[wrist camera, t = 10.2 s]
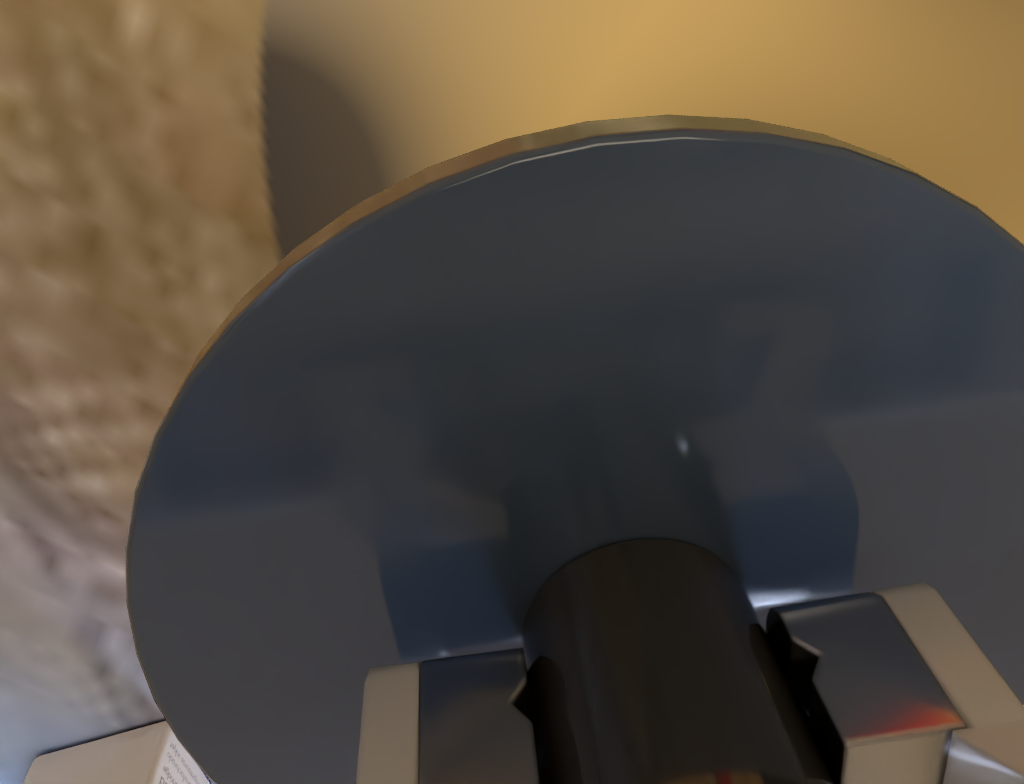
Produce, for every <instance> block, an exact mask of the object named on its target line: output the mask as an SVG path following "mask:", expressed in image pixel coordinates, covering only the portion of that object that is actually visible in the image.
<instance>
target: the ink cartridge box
mask: <svg viewBox="0 0 1024 784" xmlns="http://www.w3.org/2000/svg"><path fill="white" fill-rule="evenodd" d="M23 784H210V782H209V781H208V780H207V778H206V777H205V775H204V774H203V772H202V771H201V769H200V767H199V766H198V764H197V763H196V762H195V761H194V760H193V758H192V757H191V756H190V755H189V753H188V752H187V751H186V750H185V749H184V747H183V746H182V745H181V744H180V742H179V741H178V740H177V738H176V736H175V734H174V733H173V731H172V729H171V728H170V726H169V724H168V723H167V721H164V722H160V723H156V724H152V725H149V726H145V727H142V728H138V729H135V730H131V731H127V732H124V733H120V734H117V735H113V736H110V737H106V738H103V739H99V740H96V741H92V742H89V743H85V744H81V745H77V746H74V747H70V748H67V749H63V750H59V751H56V752H52V753H48V754H44V755H41V756H39V757H37V758H35V760H34V761H33V763H32V765H31V767H30V768H29V770H28V773H27V775H26V777H25V779H24V782H23Z"/></svg>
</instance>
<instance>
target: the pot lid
mask: <svg viewBox="0 0 1024 784" xmlns="http://www.w3.org/2000/svg"><path fill="white" fill-rule="evenodd" d="M125 551H126V602H127V608H128V613H129V618H130V623H131V628H132V633H133V638H134V644H135V649H136V654H137V657H138V659H139V662H140V664H141V667H142V670H143V672H144V675H145V677H146V680H147V683H148V685H149V688H150V690H151V693H152V696H153V698H154V701H155V702H156V704H157V706H158V707H159V709H160V711H161V712H162V714H163V716H164V718H165V719H166V721H167V723H168V724H169V726H170V728H171V729H172V731H173V733H174V734H175V736H176V738H177V740H178V741H179V742H180V744H181V745H182V746H183V747H184V749H185V750H186V751H187V752H188V753H189V755H190V756H191V757H192V758H193V760H194V761H195V762H196V763H197V764H198V766H199V767H200V768H201V769H202V770H203V772H204V773H205V774H206V775H207V777H208V778H209V779H210V780H211V781H213V782H214V783H215V784H356V778H357V766H358V754H359V743H360V731H361V719H362V707H363V696H364V684H365V681H366V678H367V675H368V673H369V670H370V668H376V667H384V666H392V665H400V664H407V663H415V662H422V661H423V660H430V659H438V658H446V657H454V656H461V655H469V654H477V653H484V652H492V651H500V650H507V649H515V648H523V649H524V655H525V660H526V665H527V670H528V677H529V685H530V692H531V699H532V707H533V714H534V721H535V733H534V735H535V741H536V746H537V752H538V757H539V763H540V768H541V776H542V784H835V782H834V780H833V778H832V775H831V773H830V771H829V769H828V767H827V765H826V762H825V760H824V758H823V756H822V754H821V752H820V749H819V747H818V745H817V743H816V741H815V738H814V736H813V734H812V732H811V730H810V728H809V725H808V723H807V721H806V719H805V717H804V715H803V712H802V710H801V708H800V706H799V704H798V702H797V699H796V697H795V695H794V693H793V691H792V689H791V686H790V684H789V682H788V680H787V678H786V676H785V673H784V671H783V669H782V667H781V665H780V663H779V660H778V658H777V656H776V654H775V652H774V650H773V647H772V645H771V643H770V641H769V639H768V637H767V634H766V617H767V615H768V612H769V609H770V608H773V607H779V606H785V605H791V604H797V603H803V602H809V601H815V600H821V599H827V598H833V597H839V596H845V595H851V594H857V593H863V592H869V593H871V592H873V591H876V590H882V589H888V588H894V587H901V586H907V585H913V584H919V583H926V584H928V585H929V586H931V587H933V588H934V589H936V591H937V592H938V593H939V595H940V596H941V597H942V598H943V600H944V601H945V602H946V604H947V605H948V606H949V608H950V609H951V610H952V612H953V613H954V614H955V616H956V617H957V618H958V620H959V621H960V622H961V624H962V625H963V626H964V628H965V629H966V630H967V632H968V633H969V634H970V636H971V637H972V638H973V640H974V641H975V642H976V644H977V645H978V646H979V648H980V649H981V650H982V652H983V653H984V654H985V656H986V657H987V658H988V660H989V661H990V662H991V664H992V665H993V666H994V668H995V669H996V670H997V672H998V673H999V674H1000V676H1001V677H1002V678H1003V679H1004V681H1005V682H1006V683H1007V685H1008V686H1009V687H1010V689H1011V690H1012V691H1013V693H1014V694H1015V695H1016V697H1017V698H1018V699H1019V701H1020V702H1021V703H1022V705H1023V706H1024V244H1023V243H1021V242H1020V241H1019V240H1017V239H1016V238H1015V237H1014V236H1013V235H1011V234H1010V233H1009V232H1008V231H1006V230H1005V229H1004V228H1003V227H1002V226H1000V225H999V224H998V223H997V222H995V221H994V220H993V219H991V218H990V217H989V216H988V215H987V214H986V213H984V212H983V211H982V210H981V209H979V208H978V207H977V206H975V205H973V204H971V203H969V202H968V201H966V200H964V199H962V198H960V197H958V196H957V195H955V194H953V193H951V192H950V191H948V190H946V189H944V188H942V187H941V186H939V185H937V184H935V183H933V182H931V181H930V180H928V179H926V178H924V177H923V176H921V175H919V174H917V173H915V172H914V171H912V170H910V169H908V168H906V167H905V166H903V165H901V164H899V163H897V162H896V161H894V160H892V159H890V158H887V157H885V156H882V155H879V154H876V153H874V152H871V151H868V150H865V149H863V148H860V147H857V146H854V145H851V144H849V143H846V142H843V141H840V140H837V139H835V138H832V137H829V136H827V135H824V134H820V133H815V132H810V131H805V130H800V129H795V128H790V127H785V126H780V125H775V124H770V123H764V122H760V121H755V120H750V119H737V118H718V117H700V116H682V115H660V116H647V117H635V118H623V119H612V120H599V121H587V122H582V123H578V124H573V125H568V126H564V127H559V128H555V129H550V130H546V131H541V132H537V133H532V134H527V135H523V136H518V137H514V138H509V139H505V140H502V141H500V142H497V143H494V144H491V145H488V146H486V147H483V148H480V149H477V150H474V151H472V152H469V153H466V154H463V155H461V156H458V157H455V158H452V159H450V160H447V161H444V162H441V163H439V164H436V165H433V166H430V167H428V168H426V169H424V170H422V171H420V172H418V173H416V174H414V175H412V176H410V177H409V178H407V179H405V180H403V181H401V182H399V183H397V184H395V185H393V186H391V187H389V188H387V189H385V190H384V191H382V192H380V193H378V194H376V195H374V196H372V197H370V198H368V199H366V200H364V201H363V202H361V203H359V204H357V205H355V206H354V207H353V208H351V209H350V210H348V211H347V212H346V213H344V214H343V215H341V216H340V217H338V218H337V219H336V220H334V221H333V222H331V223H330V224H329V225H327V226H326V227H324V228H323V229H321V230H320V231H319V232H317V233H316V234H314V235H313V236H312V237H310V238H309V239H307V240H306V241H305V242H303V243H302V244H300V245H299V246H298V247H296V248H295V249H294V250H292V251H291V252H290V253H289V254H288V255H287V256H286V257H285V258H284V259H283V260H282V261H281V262H280V263H279V264H278V265H277V266H276V267H274V268H273V269H272V270H271V271H270V272H269V273H268V274H267V275H266V276H265V277H264V278H263V279H262V280H261V281H260V282H259V283H258V284H257V285H255V286H254V287H253V288H252V289H251V290H250V291H249V292H248V293H247V294H246V295H245V296H244V297H243V298H242V299H241V300H240V301H239V303H238V304H237V305H236V306H235V308H234V309H233V310H232V311H231V313H230V314H229V315H228V317H227V318H226V319H225V320H224V322H223V323H222V324H221V326H220V327H219V328H218V329H217V331H216V332H215V333H214V334H213V336H212V337H211V338H210V340H209V341H208V342H207V343H206V345H205V346H204V347H203V349H202V350H201V351H200V352H199V354H198V356H197V358H196V360H195V361H194V363H193V365H192V367H191V369H190V370H189V372H188V374H187V376H186V378H185V379H184V381H183V383H182V385H181V386H180V388H179V390H178V392H177V394H176V395H175V397H174V399H173V401H172V403H171V404H170V406H169V408H168V410H167V412H166V414H165V416H164V418H163V420H162V422H161V424H160V426H159V427H158V429H157V431H156V433H155V436H154V439H153V442H152V444H151V447H150V450H149V453H148V456H147V458H146V461H145V464H144V467H143V470H142V473H141V475H140V478H139V481H138V484H137V487H136V489H135V493H134V499H133V505H132V511H131V517H130V523H129V529H128V535H127V541H126V547H125Z"/></svg>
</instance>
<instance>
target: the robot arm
mask: <svg viewBox="0 0 1024 784" xmlns="http://www.w3.org/2000/svg"><path fill="white" fill-rule="evenodd" d="M766 634H767V637H768V639H769V641H770V643H771V645H772V647H773V650H774V652H775V654H776V656H777V658H778V660H779V663H780V665H781V667H782V669H783V671H784V673H785V676H786V678H787V680H788V682H789V684H790V686H791V689H792V691H793V693H794V695H795V697H796V699H797V702H798V704H799V706H800V708H801V710H802V712H803V715H804V717H805V719H806V721H807V723H808V725H809V728H810V730H811V732H812V734H813V736H814V738H815V741H816V743H817V745H818V747H819V749H820V752H821V754H822V756H823V758H824V760H825V762H826V765H827V767H828V769H829V771H830V773H831V775H832V778H833V780H834V782H835V784H1024V706H1023V705H1022V703H1021V702H1020V701H1019V699H1018V698H1017V697H1016V695H1015V694H1014V693H1013V691H1012V690H1011V689H1010V687H1009V686H1008V685H1007V683H1006V682H1005V681H1004V679H1003V678H1002V677H1001V676H1000V674H999V673H998V672H997V670H996V669H995V668H994V666H993V665H992V664H991V662H990V661H989V660H988V658H987V657H986V656H985V654H984V653H983V652H982V650H981V649H980V648H979V646H978V645H977V644H976V642H975V641H974V640H973V638H972V637H971V636H970V634H969V633H968V632H967V630H966V629H965V628H964V626H963V625H962V624H961V622H960V621H959V620H958V618H957V617H956V616H955V614H954V613H953V612H952V610H951V609H950V608H949V606H948V605H947V604H946V602H945V601H944V600H943V598H942V597H941V596H940V595H939V593H938V592H937V591H936V589H934V588H933V587H931V586H929V585H928V584H926V583H919V584H913V585H907V586H901V587H894V588H888V589H882V590H876V591H873V592H871V593H869V592H863V593H857V594H851V595H845V596H839V597H833V598H827V599H821V600H815V601H809V602H803V603H797V604H791V605H785V606H779V607H773V608H770V609H769V612H768V615H767V617H766ZM534 733H535V721H534V714H533V707H532V699H531V692H530V685H529V677H528V670H527V665H526V660H525V655H524V649H523V648H515V649H507V650H500V651H492V652H484V653H477V654H469V655H461V656H454V657H446V658H438V659H430V660H423V661H422V662H415V663H407V664H400V665H392V666H384V667H376V668H370V670H369V673H368V675H367V678H366V681H365V684H364V696H363V707H362V719H361V731H360V743H359V754H358V766H357V778H356V784H542V776H541V768H540V763H539V757H538V752H537V746H536V741H535V735H534Z"/></svg>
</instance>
